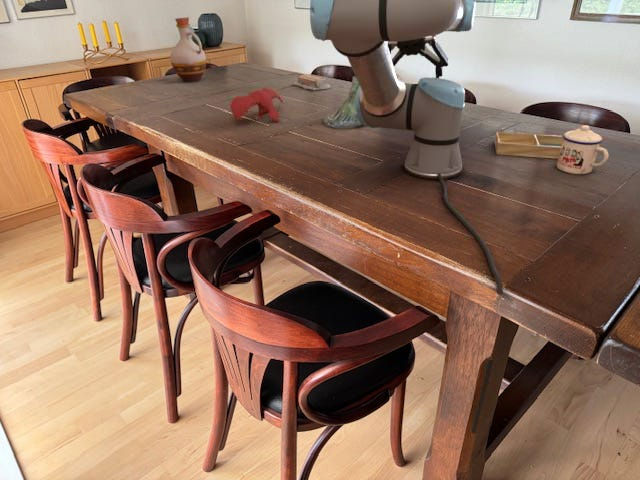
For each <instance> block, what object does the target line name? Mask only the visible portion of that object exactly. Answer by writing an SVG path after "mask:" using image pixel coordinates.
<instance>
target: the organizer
mask: <svg viewBox="0 0 640 480" xmlns="http://www.w3.org/2000/svg"><path fill="white" fill-rule="evenodd" d="M562 142H563V135H555V134H554V135H553V134H537V133H521V132H503V131H496V132H495V136H494V149H495V154H496V155H499V156H500V155H504V156H515V157H531V158H544V159H545V158H546V159H557V160H558V158H559V154H560V150H561V146H562Z"/></svg>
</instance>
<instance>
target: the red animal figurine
mask: <svg viewBox="0 0 640 480" xmlns="http://www.w3.org/2000/svg"><path fill="white" fill-rule="evenodd" d="M274 99H278V100H279V101H280V103H281V104H284V102H283V100H282V98H281V96H280V95H279V93H278V92H276V91H275V90H273V89H271V88H269V87H268V88H267V87H262V88H261V90H259V89H257V90H255V91H252V92H249V94H248V95H245V96H238V95H237V96H235V97H234V98H233V99H232V100H231V103H230V105H229V107H230V109H231V114H232V116H233V117H234V118H235V120H236V121H239V120H243V117H245V116H246V114H245V113H247V114H248V113H249V110H251V108H254V106H257V107H258V112H257V116H254V119H255V120H258V118H259V117H260V118H261V119H262V118H263V116H265V115H266V114H267V117H269V119H271V120H272V121H273V123H278V122H279V121H280V115H281V114H280V111H278V110H276V109H275V106H274V102H273V100H274Z"/></svg>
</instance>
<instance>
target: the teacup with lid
mask: <svg viewBox="0 0 640 480" xmlns="http://www.w3.org/2000/svg"><path fill="white" fill-rule="evenodd" d="M590 128H591V127H590V126H589V125H586V124H585V125H581V126H580V128H577V129H574V130H569V131H565V133H564V134H563V135H562V136H563V142H562V146H561V150H560V154H559V158H558V159H557V161H556V167H557V169H558V170H560V171H562V172H565V173H568V174H573V175H587V174H590V173H591V172H592V171H593V168H594V167H601V166H602V165H604V164H605V163H606V162H607V161H608V159H609V152H608V150H607V149H606V148H605V147H601V143H602V142H603V137H602V136H601V135H600V134H598V133H595V132H594V131H592V130H590ZM598 152H601V153H602V154H603V159H602V160H601V161H600V162H596V158H597V156H598Z"/></svg>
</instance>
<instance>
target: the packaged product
mask: <svg viewBox="0 0 640 480" xmlns="http://www.w3.org/2000/svg"><path fill="white" fill-rule="evenodd" d="M296 79H297V81H295V82H293V86H298V87H300V88H303V89H305V90H309V91H312V92H313V91H320V90H326V89H330V88H331V85H330V84H328V83H327V79H326V78H323V77H319V76H316V75H312V74H310V73H304V74H301V75H299V76H298V77H297V78H296Z"/></svg>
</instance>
